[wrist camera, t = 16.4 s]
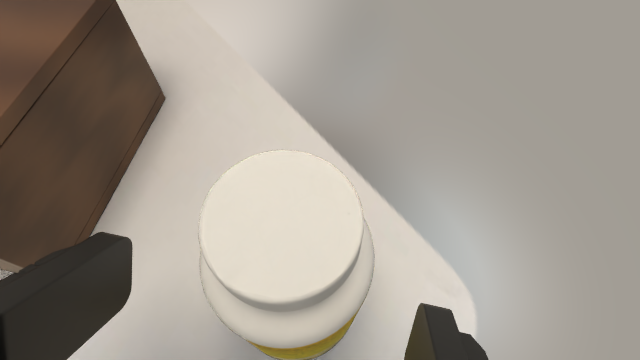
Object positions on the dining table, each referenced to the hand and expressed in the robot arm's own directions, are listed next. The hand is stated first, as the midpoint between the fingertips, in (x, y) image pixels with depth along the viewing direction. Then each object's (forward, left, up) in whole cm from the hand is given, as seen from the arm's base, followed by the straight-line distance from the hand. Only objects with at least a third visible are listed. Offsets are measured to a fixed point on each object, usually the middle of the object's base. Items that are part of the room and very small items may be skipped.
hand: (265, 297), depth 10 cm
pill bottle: (-1, -2, -10) cm, 11 cm away
